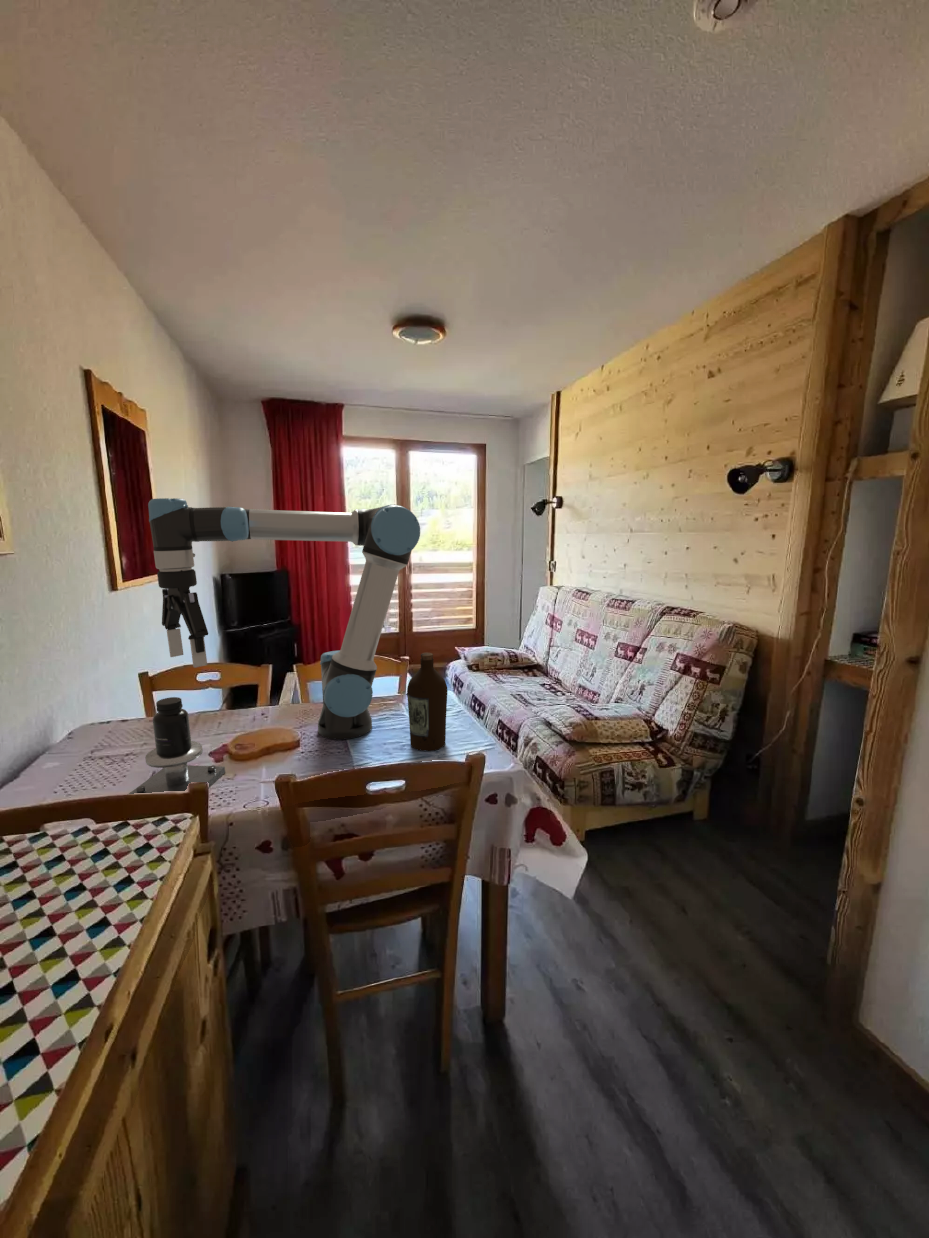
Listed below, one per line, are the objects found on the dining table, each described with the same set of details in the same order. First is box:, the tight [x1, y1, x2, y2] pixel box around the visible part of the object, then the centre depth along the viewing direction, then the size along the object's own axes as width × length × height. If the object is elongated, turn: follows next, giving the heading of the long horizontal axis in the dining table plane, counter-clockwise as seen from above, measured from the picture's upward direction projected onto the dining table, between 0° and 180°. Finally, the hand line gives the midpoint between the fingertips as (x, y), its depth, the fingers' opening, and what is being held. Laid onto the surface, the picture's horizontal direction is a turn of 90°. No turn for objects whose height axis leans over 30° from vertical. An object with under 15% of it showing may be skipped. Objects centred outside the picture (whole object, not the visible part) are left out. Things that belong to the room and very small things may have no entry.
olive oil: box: [406, 652, 448, 752], centre depth 133 cm, size 11×11×25 cm
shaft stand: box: [128, 740, 226, 794], centre depth 113 cm, size 14×14×8 cm
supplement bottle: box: [152, 696, 192, 758], centre depth 110 cm, size 7×7×12 cm
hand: (188, 660), depth 117 cm, fingers open, 13 cm apart
